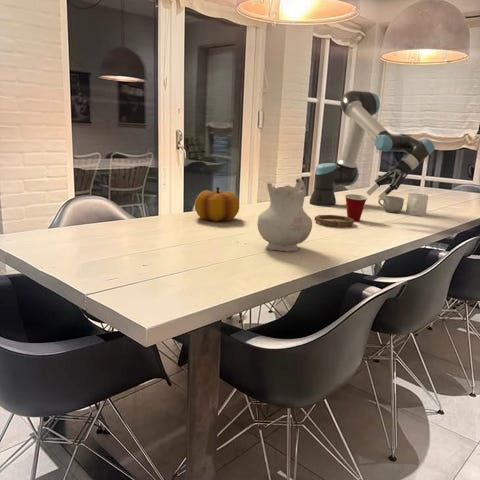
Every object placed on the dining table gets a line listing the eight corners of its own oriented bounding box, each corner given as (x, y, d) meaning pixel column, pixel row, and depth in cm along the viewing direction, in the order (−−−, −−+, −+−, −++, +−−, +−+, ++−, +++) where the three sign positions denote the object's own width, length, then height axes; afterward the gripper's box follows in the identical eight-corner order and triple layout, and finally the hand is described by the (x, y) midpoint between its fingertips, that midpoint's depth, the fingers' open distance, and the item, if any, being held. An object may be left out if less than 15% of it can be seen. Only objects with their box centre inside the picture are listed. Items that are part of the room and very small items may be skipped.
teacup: (400, 210, 269) (401, 196, 267) (404, 214, 259) (406, 199, 257) (374, 209, 271) (376, 195, 269) (378, 212, 260) (380, 197, 258)
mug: (423, 217, 251) (426, 197, 249) (403, 215, 255) (406, 195, 253) (426, 213, 263) (429, 194, 260) (407, 211, 267) (409, 192, 265)
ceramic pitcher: (270, 240, 188) (269, 177, 183) (319, 243, 181) (319, 177, 175) (250, 253, 168) (248, 182, 163) (304, 257, 161) (304, 183, 156)
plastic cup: (347, 222, 228) (349, 197, 225) (339, 217, 238) (341, 193, 235) (368, 222, 229) (371, 197, 227) (359, 218, 240) (362, 194, 237)
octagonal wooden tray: (309, 220, 227) (309, 213, 226) (340, 219, 233) (341, 212, 232) (326, 228, 212) (327, 220, 211) (359, 227, 217) (360, 219, 216)
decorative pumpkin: (248, 222, 217) (250, 189, 214) (205, 225, 206) (206, 190, 202) (226, 214, 234) (228, 183, 230) (185, 216, 223) (186, 184, 219)
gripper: (424, 173, 220) (390, 205, 220) (398, 168, 243) (367, 197, 244) (415, 161, 217) (380, 193, 218) (389, 157, 241) (358, 186, 242)
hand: (373, 195), depth 231 cm, fingers open, 13 cm apart
